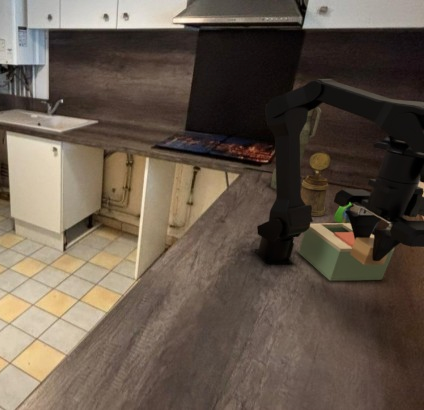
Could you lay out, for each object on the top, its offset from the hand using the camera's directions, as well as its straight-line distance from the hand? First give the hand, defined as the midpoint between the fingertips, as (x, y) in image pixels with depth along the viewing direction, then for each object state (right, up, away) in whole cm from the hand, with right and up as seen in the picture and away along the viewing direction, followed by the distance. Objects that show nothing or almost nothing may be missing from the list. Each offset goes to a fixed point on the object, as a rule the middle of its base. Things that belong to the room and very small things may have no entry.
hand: (367, 254), depth 69 cm
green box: (+7, -5, +18) cm, 20 cm away
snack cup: (+24, +2, +35) cm, 43 cm away
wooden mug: (+20, +8, +50) cm, 54 cm away
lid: (+7, +2, +15) cm, 17 cm away
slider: (+7, +1, +12) cm, 14 cm away
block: (0, -1, 0) cm, 1 cm away
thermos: (+21, +16, +67) cm, 72 cm away
